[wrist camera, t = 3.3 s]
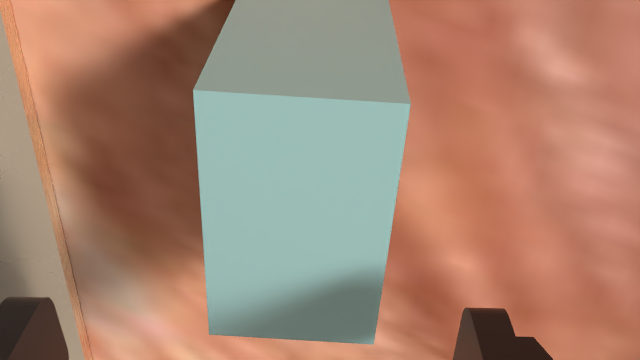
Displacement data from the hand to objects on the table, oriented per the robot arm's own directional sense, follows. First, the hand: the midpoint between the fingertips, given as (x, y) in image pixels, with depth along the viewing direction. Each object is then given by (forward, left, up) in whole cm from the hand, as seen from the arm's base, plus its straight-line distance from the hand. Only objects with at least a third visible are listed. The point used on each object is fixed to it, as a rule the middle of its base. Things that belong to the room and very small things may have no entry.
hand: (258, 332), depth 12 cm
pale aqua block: (-1, 0, -8) cm, 8 cm away
